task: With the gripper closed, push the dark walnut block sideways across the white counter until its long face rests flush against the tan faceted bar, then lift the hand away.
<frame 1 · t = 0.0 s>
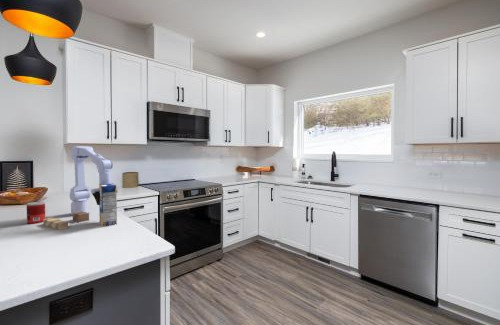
hand: (105, 203, 144), 10 cm above the worktop, tool pointing down, fingers open, 7 cm apart
canned food: (36, 222, 140), on the worktop
tan faceted bar: (55, 226, 133), on the worktop
walnut block: (80, 220, 144), on the worktop
beverage box: (108, 223, 139), on the worktop
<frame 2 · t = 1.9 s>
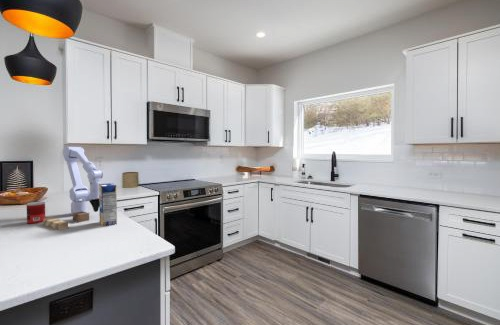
hand: (95, 211, 152), 3 cm above the worktop, tool pointing down, fingers closed
nothing on the worktop moved.
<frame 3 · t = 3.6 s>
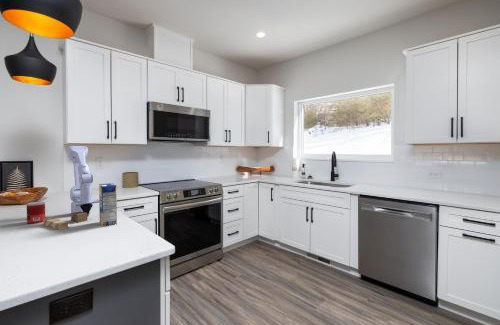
hand: (86, 216, 147), 2 cm above the worktop, tool pointing down, fingers closed
walnut block: (79, 220, 144), on the worktop, touching gripper
everything else where it was.
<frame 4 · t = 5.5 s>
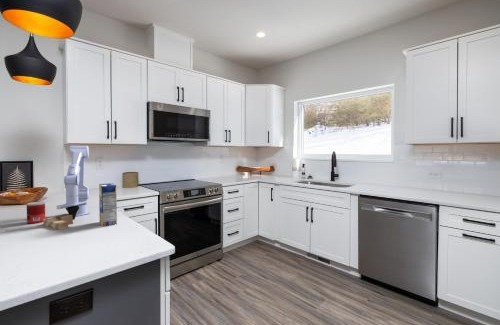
hand: (72, 219, 141), 1 cm above the worktop, tool pointing down, fingers closed
walnut block: (64, 223, 138), on the worktop, touching gripper, tan faceted bar
everything else where it was.
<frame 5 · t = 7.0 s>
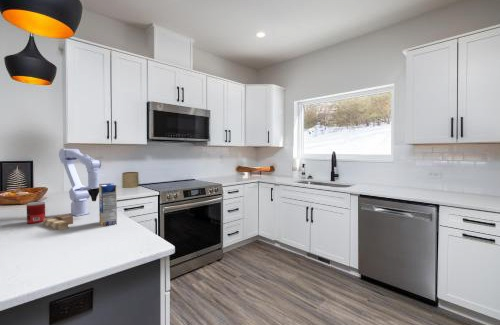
hand: (94, 201, 152), 10 cm above the worktop, tool pointing down, fingers closed
walnut block: (64, 223, 138), on the worktop
everything else where it was.
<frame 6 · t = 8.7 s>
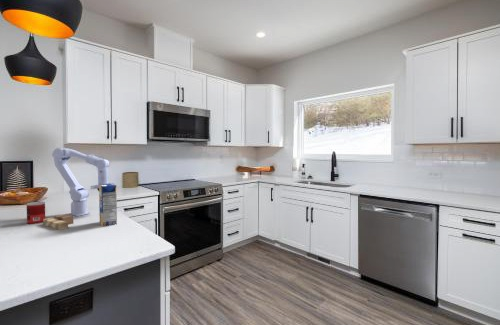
hand: (103, 198, 159), 10 cm above the worktop, tool pointing down, fingers closed
nothing on the worktop moved.
at the end: walnut block inside the target area on the worktop beside the tan faceted bar (0.4 cm from its centre), on the worktop; walnut block tilted 0° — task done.
